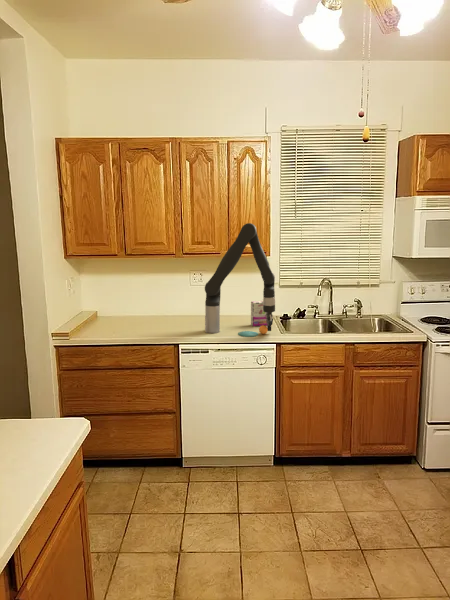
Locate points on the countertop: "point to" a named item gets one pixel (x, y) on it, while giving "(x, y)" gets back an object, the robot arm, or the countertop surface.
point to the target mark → (248, 334)
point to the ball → (263, 329)
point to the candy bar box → (258, 314)
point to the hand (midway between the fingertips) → (269, 330)
